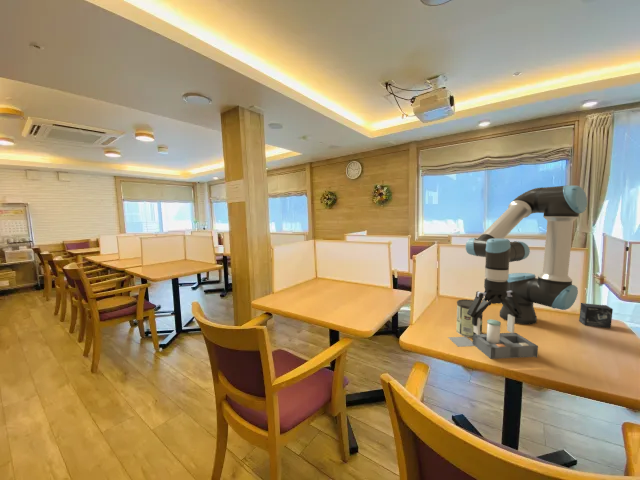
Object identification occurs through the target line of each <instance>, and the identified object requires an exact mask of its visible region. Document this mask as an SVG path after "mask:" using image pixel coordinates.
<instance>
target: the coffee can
mask: <svg viewBox="0 0 640 480" xmlns="http://www.w3.org/2000/svg"><path fill="white" fill-rule="evenodd" d="M473 301H474V299H459V300H457V301H456V329H455V330H456V333H458V335H460V336H462V337H467V338H469V339H470V338H471V339H473V334H476V333H474V332H473V330H474V325H473V324H472V317H471V316H470V315H468V314H467V312H468V310H469V308H470V306H471V305H472V303H473ZM480 304H481V303H480ZM483 313H484V312H483ZM483 313H482V314H481V315H480V316H479V318H480V334H483Z"/></svg>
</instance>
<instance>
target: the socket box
mask: <svg viewBox="0 0 640 480" xmlns="http://www.w3.org/2000/svg"><path fill="white" fill-rule="evenodd" d="M472 342H473V345H474V346H473V347H475V348H477V349H478V350H479V351H480V352H481V353H483V354H484V355H485V356H487V358H489V359H491V360H495V359H496V360H497V359H515V358H517V359H519V358H536V359H537V358H538V356H539V355H538V353H539V345H537V344H536V343H534V342H533V341H530V340H529V339H527V338H525V336H522V335H520V334H518V333H517V332H514V333H511V332H500V340H499V344H489V343H488V342H487V333H482V334H480V335H477V334H473V338H472Z"/></svg>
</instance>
